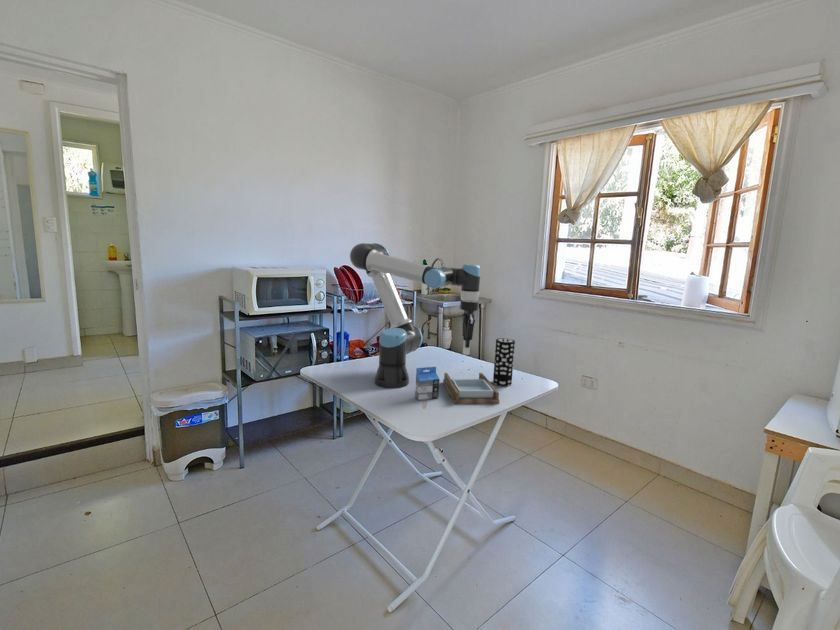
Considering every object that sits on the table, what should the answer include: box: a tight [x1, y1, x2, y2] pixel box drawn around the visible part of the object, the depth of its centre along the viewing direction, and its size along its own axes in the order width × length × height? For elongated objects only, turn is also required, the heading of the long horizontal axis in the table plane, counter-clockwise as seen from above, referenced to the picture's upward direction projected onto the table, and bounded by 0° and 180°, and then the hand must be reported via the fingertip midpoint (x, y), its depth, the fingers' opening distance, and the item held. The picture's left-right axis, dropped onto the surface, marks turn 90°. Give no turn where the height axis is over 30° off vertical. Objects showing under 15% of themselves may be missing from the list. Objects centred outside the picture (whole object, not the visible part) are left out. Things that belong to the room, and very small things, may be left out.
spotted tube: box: [492, 337, 516, 387], centre depth 184 cm, size 8×8×20 cm
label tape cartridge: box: [414, 366, 440, 401], centre depth 163 cm, size 9×4×12 cm, turn 112°
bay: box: [442, 372, 500, 405], centre depth 172 cm, size 18×25×4 cm
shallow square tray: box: [451, 378, 494, 398], centre depth 168 cm, size 14×14×3 cm
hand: (466, 354), depth 179 cm, fingers closed
